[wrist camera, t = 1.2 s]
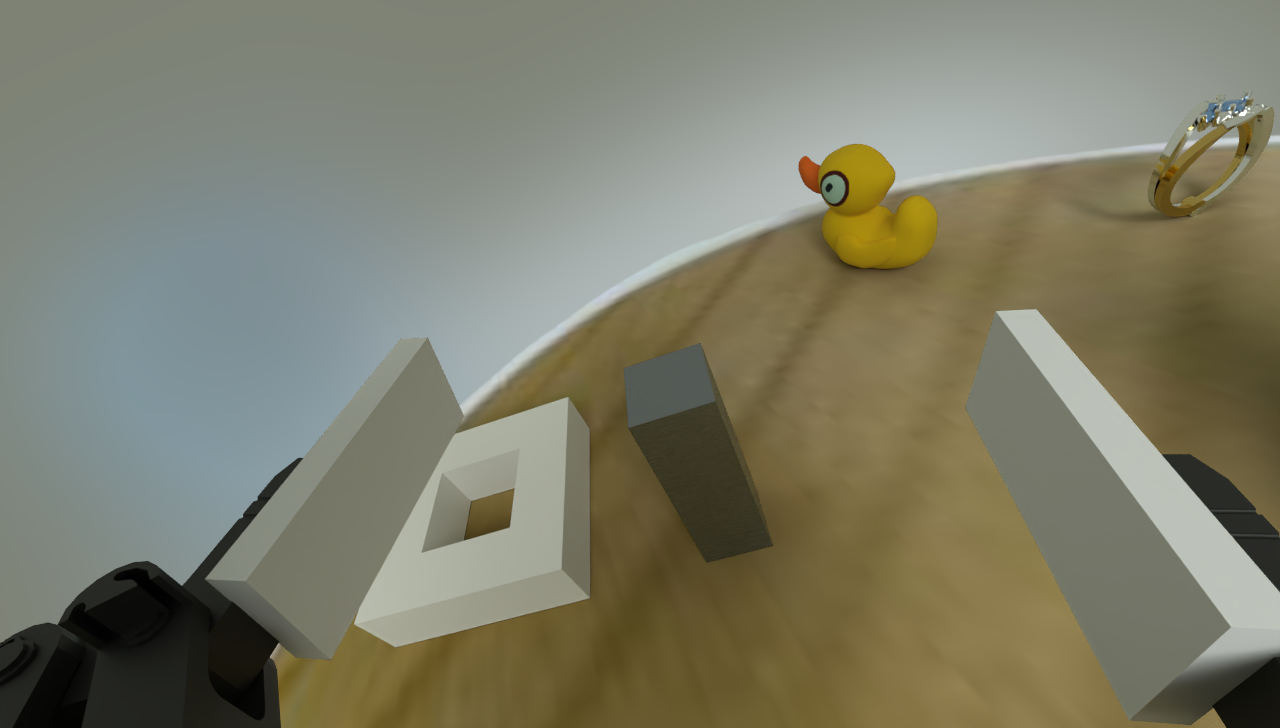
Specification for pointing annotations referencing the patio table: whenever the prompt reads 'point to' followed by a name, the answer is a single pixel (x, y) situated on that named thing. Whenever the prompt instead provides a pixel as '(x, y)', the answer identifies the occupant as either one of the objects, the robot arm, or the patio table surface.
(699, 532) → the tall dark grey pillar
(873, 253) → the duckling
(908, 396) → the patio table surface
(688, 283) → the patio table surface
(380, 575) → the well block
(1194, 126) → the ring
